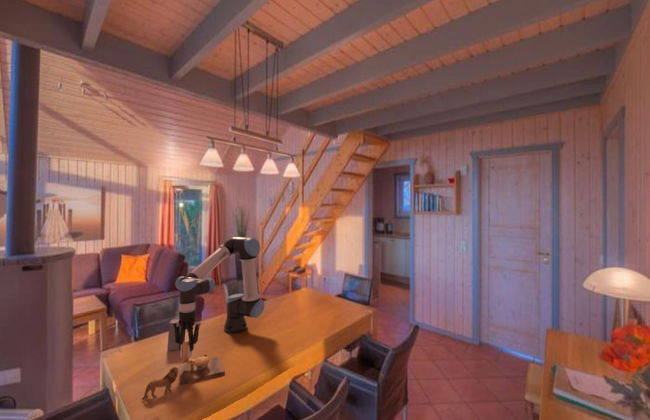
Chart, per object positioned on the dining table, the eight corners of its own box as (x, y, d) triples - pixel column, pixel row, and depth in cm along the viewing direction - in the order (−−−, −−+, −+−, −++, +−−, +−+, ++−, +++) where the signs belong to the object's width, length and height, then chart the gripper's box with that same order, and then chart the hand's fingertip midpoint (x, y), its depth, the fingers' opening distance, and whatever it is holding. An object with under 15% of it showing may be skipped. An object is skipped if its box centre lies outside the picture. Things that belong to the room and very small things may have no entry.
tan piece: (211, 358, 147) (211, 338, 147) (206, 366, 140) (206, 344, 140) (185, 358, 147) (186, 338, 147) (179, 366, 140) (179, 344, 140)
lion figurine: (175, 383, 133) (175, 364, 133) (180, 387, 130) (180, 368, 130) (139, 398, 122) (140, 377, 122) (144, 404, 119) (144, 382, 119)
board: (220, 359, 155) (220, 348, 155) (224, 374, 141) (224, 362, 141) (179, 368, 146) (179, 356, 146) (179, 385, 132) (179, 372, 132)
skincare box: (167, 351, 163) (167, 323, 163) (170, 345, 170) (171, 319, 170) (183, 349, 165) (183, 322, 166) (185, 344, 172) (186, 317, 172)
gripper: (206, 308, 147) (205, 354, 147) (176, 307, 148) (175, 352, 148) (198, 313, 140) (197, 361, 139) (167, 312, 141) (166, 359, 141)
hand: (186, 356), depth 144 cm, fingers closed on tan piece, 3 cm apart
